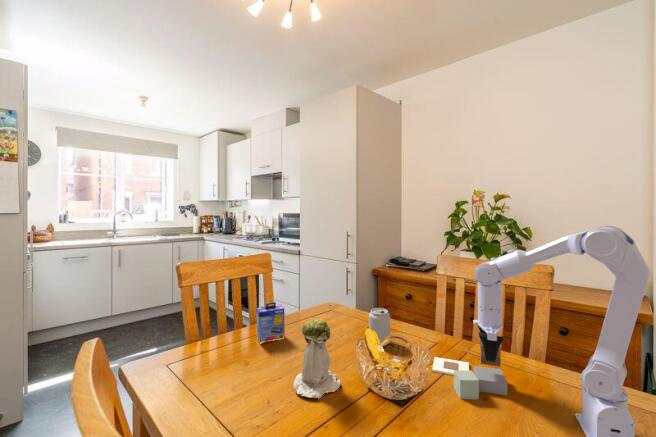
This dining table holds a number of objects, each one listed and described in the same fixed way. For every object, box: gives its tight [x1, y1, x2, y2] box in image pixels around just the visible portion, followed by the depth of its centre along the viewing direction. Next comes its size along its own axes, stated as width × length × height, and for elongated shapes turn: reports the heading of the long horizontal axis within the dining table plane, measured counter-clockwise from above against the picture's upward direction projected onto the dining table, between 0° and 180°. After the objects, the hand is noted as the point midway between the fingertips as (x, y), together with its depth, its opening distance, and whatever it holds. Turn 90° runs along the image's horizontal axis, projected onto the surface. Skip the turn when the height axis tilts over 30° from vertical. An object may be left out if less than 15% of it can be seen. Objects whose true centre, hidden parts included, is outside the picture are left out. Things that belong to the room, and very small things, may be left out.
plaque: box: [431, 356, 470, 376], centre depth 93 cm, size 8×10×1 cm
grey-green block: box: [453, 370, 480, 400], centre depth 81 cm, size 5×5×5 cm
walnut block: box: [479, 338, 502, 368], centre depth 84 cm, size 5×5×5 cm
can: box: [368, 307, 391, 343], centre depth 111 cm, size 8×8×12 cm
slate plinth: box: [473, 365, 508, 396], centre depth 84 cm, size 7×7×4 cm
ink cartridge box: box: [255, 301, 286, 342], centre depth 116 cm, size 10×6×14 cm, turn 115°
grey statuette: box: [292, 318, 341, 400], centre depth 86 cm, size 12×13×18 cm
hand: (489, 355), depth 84 cm, fingers closed on walnut block, 5 cm apart
